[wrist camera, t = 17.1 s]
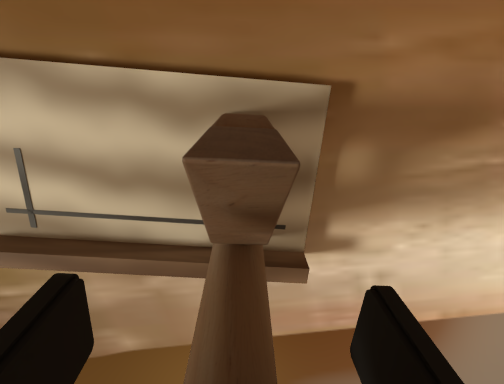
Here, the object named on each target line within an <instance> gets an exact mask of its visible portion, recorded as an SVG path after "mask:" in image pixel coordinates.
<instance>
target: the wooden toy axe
mask: <svg viewBox="0 0 504 384" xmlns="http://www.w3.org/2000/svg"><path fill="white" fill-rule="evenodd" d="M182 163H183V166H184V168H185V171H186V174H187V177H188V180H189V183H190V185H191V188H192V191H193V194H194V197H195V200H196V203H197V205H198V208H199V211H200V214H201V217H202V220H203V223H204V225H205V228H206V231H207V234H208V237H209V240H210V242H211V243H213V247H212V251H211V256H210V261H209V266H208V270H207V275H206V280H205V285H204V289H203V294H202V299H201V303H200V308H199V313H198V318H197V322H196V327H195V332H194V337H193V341H192V346H191V351H190V355H189V360H188V365H187V370H186V374H185V379H184V384H277V378H276V367H275V358H274V348H273V339H272V329H271V319H270V310H269V300H268V291H267V281H266V271H265V262H264V252H263V245H267V244H268V243H269V241H270V238H271V236H272V234H273V231H274V229H275V226H276V224H277V222H278V219H279V217H280V214H281V212H282V210H283V207H284V205H285V202H286V200H287V197H288V195H289V193H290V190H291V188H292V185H293V183H294V181H295V178H296V176H297V173H298V171H299V169H300V161H299V160H298V158H297V157H296V156H295V154H294V153H293V152H292V150H291V149H290V147H289V146H288V145H287V143H286V142H285V140H284V139H283V138H282V136H281V135H280V133H279V132H278V131H277V130H276V129H274V127H273V126H272V124H271V123H270V121H269V120H268V118H267V117H266V116H264V115H249V114H229V113H225V114H222V115H221V116H220V117H219V118H218V119H217V120H216V122H215V123H214V124H213V125H212V126H211V127H209V129H208V130H207V131H206V132H205V133H204V134H203V135H202V136H201V137H200V138H199V140H198V141H197V142H196V143H195V144H194V145H193V146H192V147H191V148H190V149H189V151H188V152H187V153H186V154H185V155H184V156H183V157H182Z"/></svg>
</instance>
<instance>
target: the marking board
mask: <svg viewBox="0 0 504 384" xmlns="http://www.w3.org/2000/svg"><path fill="white" fill-rule="evenodd" d="M330 90H331V86H330V85H318V84H306V83H294V82H283V81H271V80H259V79H247V78H236V77H224V76H212V75H200V74H188V73H177V72H165V71H153V70H141V69H129V68H118V67H106V66H94V65H82V64H71V63H59V62H47V61H35V60H23V59H12V58H0V268H18V269H37V270H56V271H75V272H95V273H114V274H133V275H152V276H172V277H191V278H206V275H207V270H208V266H209V261H210V256H211V251H212V247H213V243H211V242H210V240H209V237H208V234H207V231H206V228H205V225H204V223H203V220H202V217H201V214H200V211H199V208H198V205H197V203H196V200H195V197H194V194H193V191H192V188H191V185H190V183H189V180H188V177H187V174H186V171H185V168H184V166H183V163H182V157H183V156H184V155H185V154H186V153H187V152H188V151H189V149H190V148H191V147H192V146H193V145H194V144H195V143H196V142H197V141H198V140H199V138H200V137H201V136H202V135H203V134H204V133H205V132H206V131H207V130H208V129H209V127H211V126H212V125H213V124H214V123H215V122H216V120H217V119H218V118H219V117H220V116H221V115H222V114H225V113H229V114H249V115H264V116H266V117H267V118H268V120H269V121H270V123H271V124H272V126H273V127H274V129H276V130H277V131H278V132H279V133H280V135H281V136H282V138H283V139H284V140H285V142H286V143H287V145H288V146H289V147H290V149H291V150H292V152H293V153H294V154H295V156H296V157H297V158H298V160H299V161H300V169H299V171H298V173H297V176H296V178H295V181H294V183H293V185H292V188H291V190H290V193H289V195H288V197H287V200H286V202H285V205H284V207H283V210H282V212H281V214H280V217H279V219H278V222H277V224H276V226H275V229H274V231H273V234H272V236H271V238H270V241H269V243H268V244H267V245H263V252H264V262H265V271H266V281H268V282H287V283H306V284H307V279H308V273H309V267H308V264H307V261H306V258H305V255H304V247H305V241H306V235H307V229H308V223H309V217H310V211H311V205H312V199H313V193H314V187H315V181H316V175H317V169H318V163H319V157H320V151H321V145H322V139H323V132H324V126H325V120H326V114H327V108H328V102H329V96H330Z"/></svg>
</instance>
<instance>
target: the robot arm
mask: <svg viewBox="0 0 504 384" xmlns="http://www.w3.org/2000/svg"><path fill="white" fill-rule="evenodd" d="M93 345H94V338H93V332H92V327H91V321H90V315H89V309H88V303H87V297H86V291H85V285H84V281H83V279H79V276H78V275H77V274H66V273H56V274H54V275H53V276H52V277H51V278H50V279H49V280H48V281H47V282H46V283H45V284H44V285H43V286H42V287H41V288H40V289H39V290H38V291H37V292H36V293H35V294H34V295H33V296H32V297H31V298H30V299H29V300H28V301H27V302H26V303H25V304H24V305H23V306H22V308H21V309H20V310H19V311H18V312H17V313H16V314H15V315H14V316H13V317H12V318H11V319H10V320H9V321H8V322H7V323H6V324H5V325H4V326H3V327H2V328H1V329H0V384H74V382H75V381H76V379H77V377H78V375H79V373H80V372H81V370H82V368H83V366H84V364H85V363H86V361H87V359H88V357H89V355H90V354H91V351H92V349H93ZM350 353H351V358H352V360H353V363H354V365H355V368H356V370H357V373H358V375H359V377H360V380H361V383H362V384H464V383H463V382H462V380H461V379H460V378H459V376H458V375H457V373H456V372H455V371H454V370H453V368H452V367H451V365H450V364H449V363H448V361H447V360H446V359H445V357H444V356H443V355H442V353H441V352H440V351H439V349H438V348H437V347H436V345H435V344H434V343H433V341H432V340H431V338H430V337H429V336H428V335H427V333H426V332H425V330H424V329H423V328H422V327H421V325H420V324H419V322H418V321H417V320H416V318H415V317H414V316H413V314H412V313H411V312H410V310H409V309H408V308H407V306H406V305H405V304H404V302H403V301H402V299H401V298H400V297H399V295H398V294H397V293H396V291H395V290H394V289H393V288H392V287H391V286H376V285H374V286H372V287H371V289H370V290H367V291H366V293H365V297H364V300H363V304H362V307H361V311H360V314H359V318H358V321H357V325H356V329H355V332H354V336H353V339H352V343H351V347H350Z"/></svg>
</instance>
